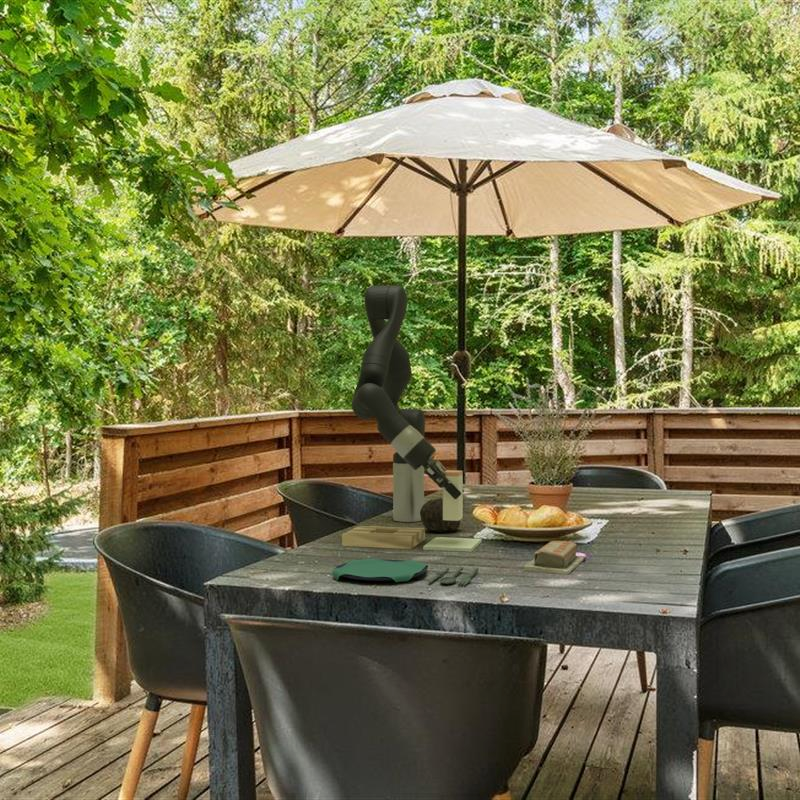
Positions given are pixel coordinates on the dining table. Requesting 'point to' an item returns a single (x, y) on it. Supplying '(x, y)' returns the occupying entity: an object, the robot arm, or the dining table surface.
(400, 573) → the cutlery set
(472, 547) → the mat
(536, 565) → the packaged product
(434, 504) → the rock
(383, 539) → the wooden peg board
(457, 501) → the plug
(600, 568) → the dining table surface
